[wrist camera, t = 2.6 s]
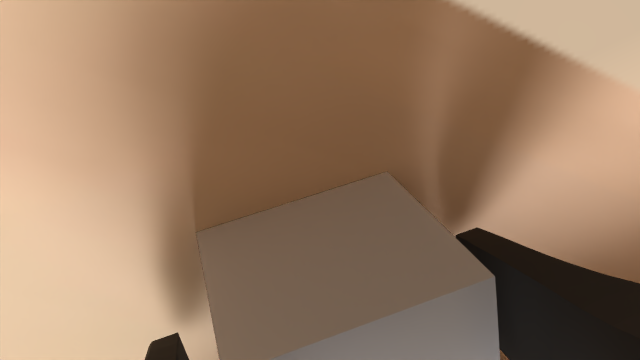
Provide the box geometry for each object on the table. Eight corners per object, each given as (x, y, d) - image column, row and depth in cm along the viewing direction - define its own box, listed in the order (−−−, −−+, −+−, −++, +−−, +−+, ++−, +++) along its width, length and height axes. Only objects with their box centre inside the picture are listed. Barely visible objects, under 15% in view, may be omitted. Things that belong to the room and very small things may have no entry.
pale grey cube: (385, 170, 14) (495, 276, 10) (409, 317, 17) (505, 457, 12) (195, 230, 13) (222, 376, 9) (247, 377, 16) (289, 551, 11)
